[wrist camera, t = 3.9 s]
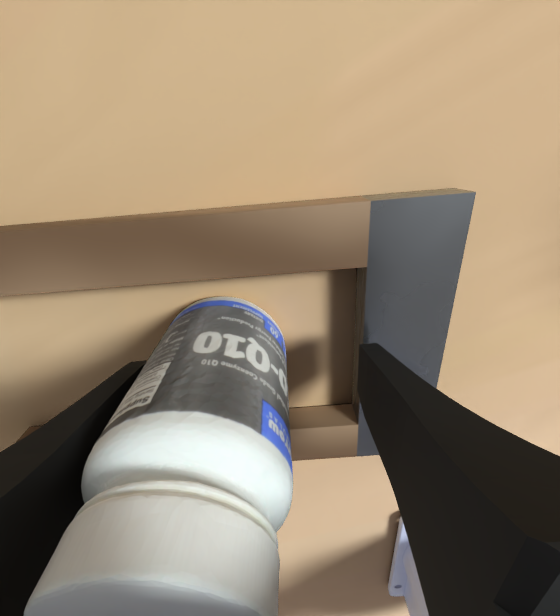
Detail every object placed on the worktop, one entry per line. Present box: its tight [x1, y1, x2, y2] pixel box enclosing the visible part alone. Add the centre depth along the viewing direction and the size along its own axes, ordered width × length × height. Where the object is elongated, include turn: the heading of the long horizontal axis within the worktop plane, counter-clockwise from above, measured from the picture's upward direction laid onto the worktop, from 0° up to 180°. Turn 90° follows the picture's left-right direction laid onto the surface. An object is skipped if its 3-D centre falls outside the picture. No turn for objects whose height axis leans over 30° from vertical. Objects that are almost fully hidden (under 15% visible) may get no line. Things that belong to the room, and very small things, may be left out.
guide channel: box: [0, 196, 371, 461], centre depth 12 cm, size 11×15×1 cm
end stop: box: [352, 188, 476, 456], centre depth 12 cm, size 11×3×1 cm, turn 4°
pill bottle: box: [24, 296, 293, 616], centre depth 9 cm, size 5×5×8 cm
